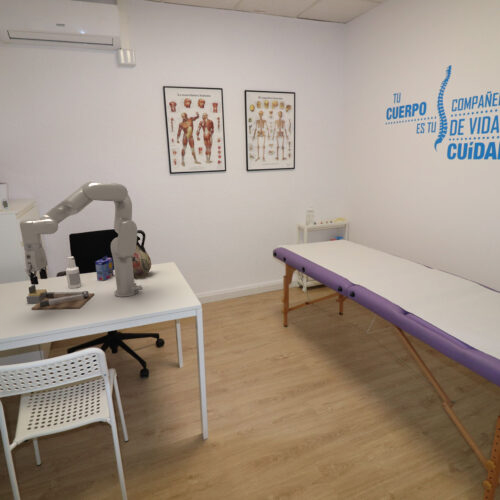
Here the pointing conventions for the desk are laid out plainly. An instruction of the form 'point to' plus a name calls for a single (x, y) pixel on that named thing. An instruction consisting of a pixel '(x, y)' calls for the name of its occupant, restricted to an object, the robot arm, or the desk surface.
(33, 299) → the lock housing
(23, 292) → the desk surface
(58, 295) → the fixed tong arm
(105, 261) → the ink cartridge box
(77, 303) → the tong board
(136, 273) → the ceramic jug
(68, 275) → the spray bottle
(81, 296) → the tong arm
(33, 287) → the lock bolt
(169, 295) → the desk surface
